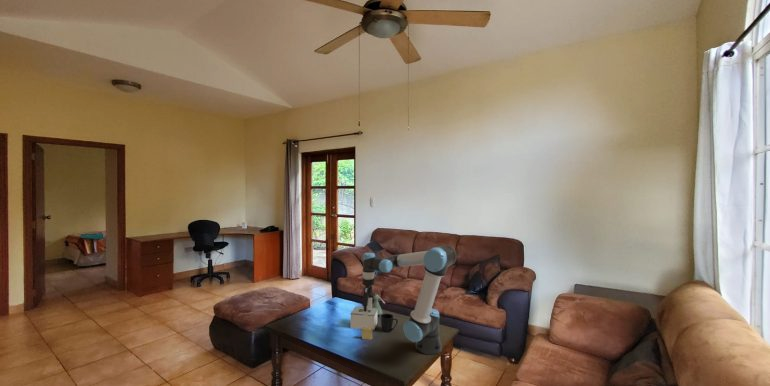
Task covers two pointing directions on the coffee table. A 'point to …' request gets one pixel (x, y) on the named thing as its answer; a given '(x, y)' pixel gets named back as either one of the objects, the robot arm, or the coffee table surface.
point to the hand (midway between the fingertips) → (367, 312)
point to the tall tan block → (367, 333)
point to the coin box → (363, 318)
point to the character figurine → (377, 303)
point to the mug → (387, 322)
